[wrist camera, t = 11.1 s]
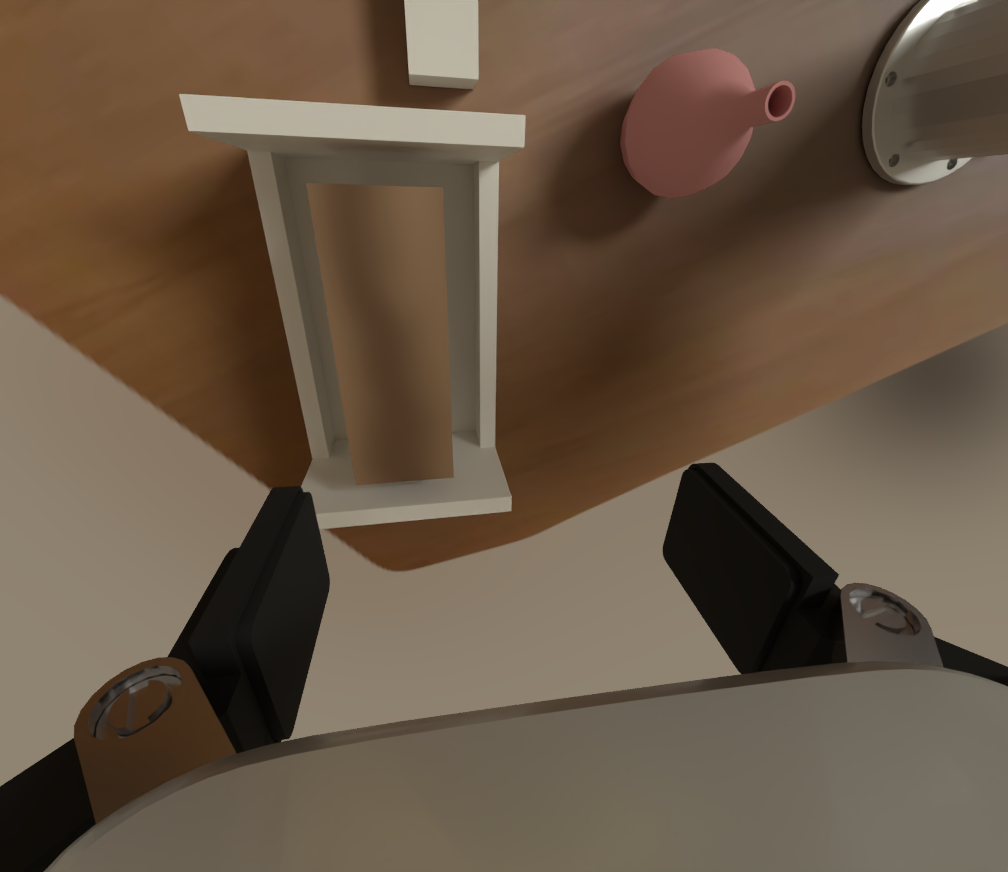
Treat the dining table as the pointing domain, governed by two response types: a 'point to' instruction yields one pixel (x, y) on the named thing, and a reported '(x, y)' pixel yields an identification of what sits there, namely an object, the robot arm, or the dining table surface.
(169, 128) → the dining table surface
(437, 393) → the brown wooden block
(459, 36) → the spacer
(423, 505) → the stand
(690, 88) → the pink vase
